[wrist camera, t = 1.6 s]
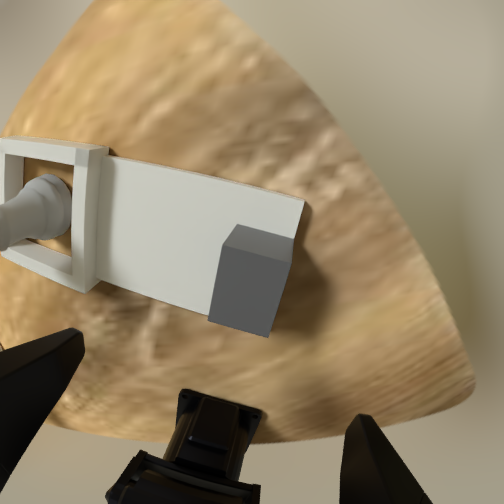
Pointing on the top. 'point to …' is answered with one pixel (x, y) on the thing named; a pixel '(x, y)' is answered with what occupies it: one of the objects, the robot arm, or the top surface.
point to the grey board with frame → (163, 233)
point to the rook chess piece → (36, 211)
